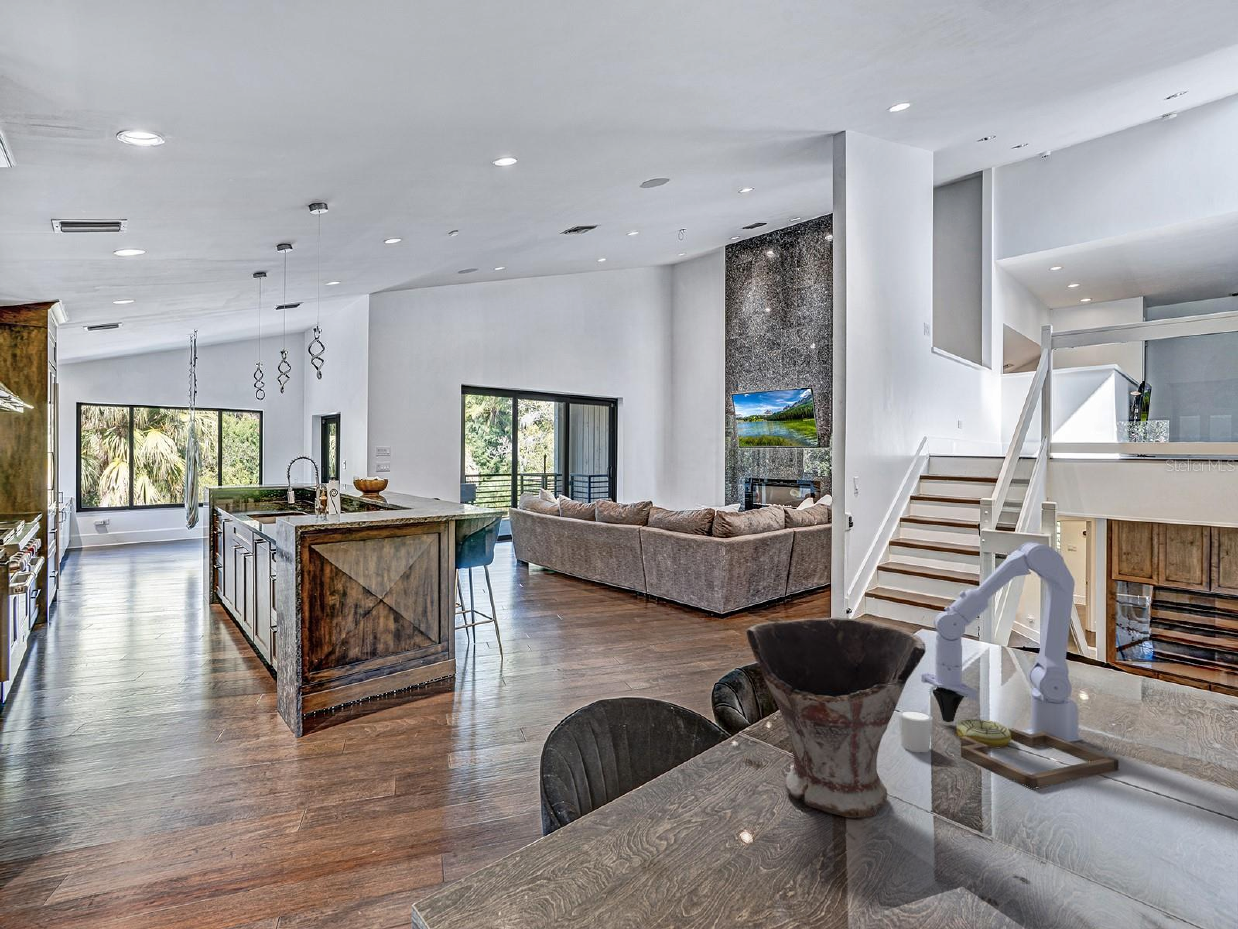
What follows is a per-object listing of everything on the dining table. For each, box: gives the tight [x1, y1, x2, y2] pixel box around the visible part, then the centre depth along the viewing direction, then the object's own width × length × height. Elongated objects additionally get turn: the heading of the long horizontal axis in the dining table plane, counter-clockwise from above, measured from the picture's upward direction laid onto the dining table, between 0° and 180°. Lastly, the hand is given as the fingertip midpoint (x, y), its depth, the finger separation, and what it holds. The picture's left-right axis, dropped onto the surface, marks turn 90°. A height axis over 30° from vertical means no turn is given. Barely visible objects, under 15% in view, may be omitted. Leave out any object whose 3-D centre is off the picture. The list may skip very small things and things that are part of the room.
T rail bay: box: [960, 727, 1120, 790], centre depth 142 cm, size 20×25×2 cm
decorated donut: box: [956, 718, 1012, 749], centre depth 152 cm, size 10×11×4 cm
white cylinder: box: [898, 709, 934, 754], centre depth 147 cm, size 7×7×7 cm
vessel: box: [746, 617, 926, 819], centre depth 125 cm, size 30×27×30 cm
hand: (948, 721), depth 161 cm, fingers closed
